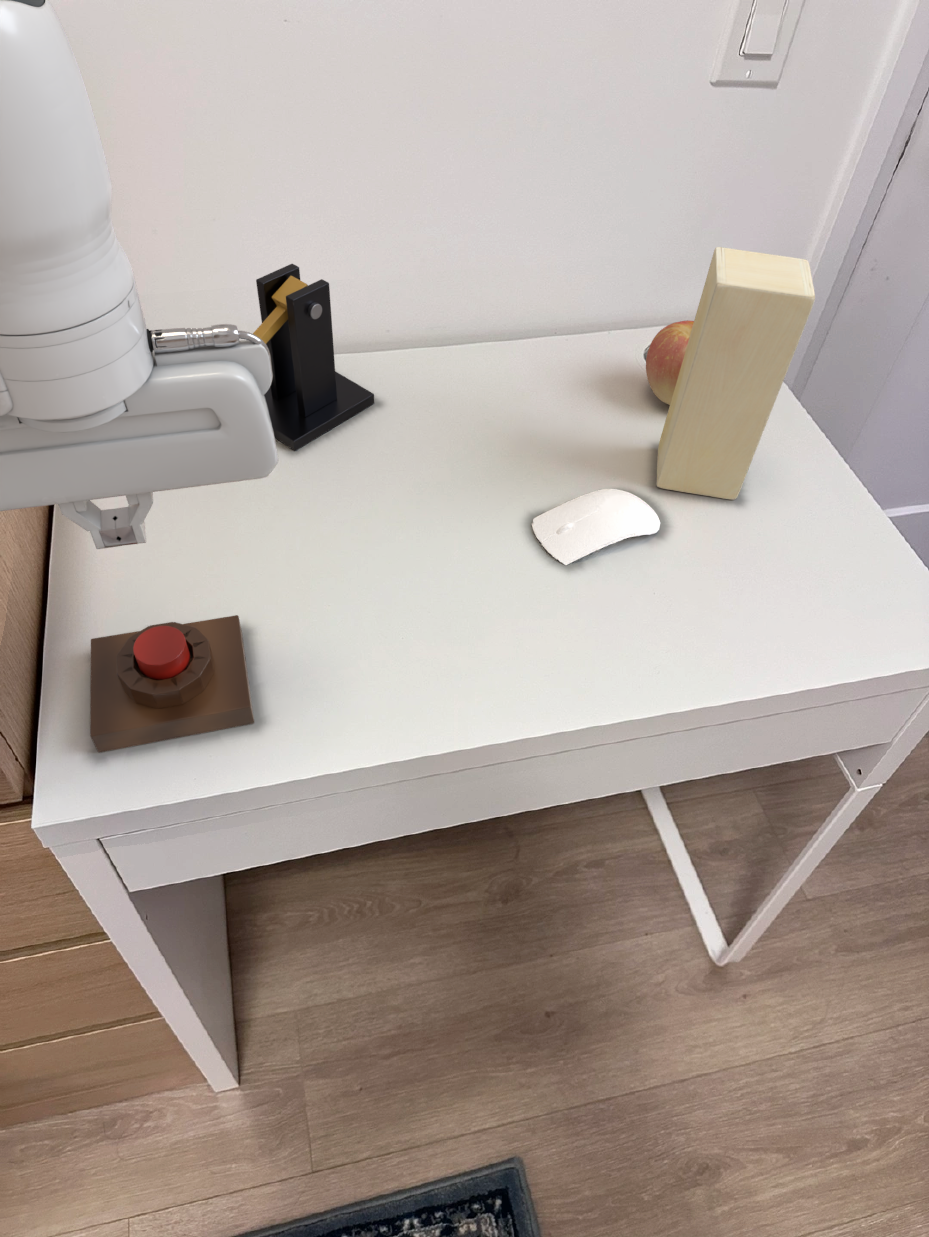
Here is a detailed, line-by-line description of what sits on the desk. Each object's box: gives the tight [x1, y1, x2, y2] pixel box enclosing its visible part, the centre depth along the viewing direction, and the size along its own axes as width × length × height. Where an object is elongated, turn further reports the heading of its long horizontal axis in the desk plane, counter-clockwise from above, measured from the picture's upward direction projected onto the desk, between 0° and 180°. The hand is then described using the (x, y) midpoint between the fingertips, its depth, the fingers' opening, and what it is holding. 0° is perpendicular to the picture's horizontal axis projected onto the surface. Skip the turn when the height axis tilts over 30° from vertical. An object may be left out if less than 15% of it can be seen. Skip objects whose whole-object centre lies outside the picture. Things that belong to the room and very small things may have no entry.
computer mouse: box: [531, 488, 661, 566], centre depth 79 cm, size 7×12×2 cm, turn 115°
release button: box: [133, 626, 190, 680], centre depth 63 cm, size 4×4×2 cm
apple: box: [645, 320, 694, 406], centre depth 92 cm, size 9×9×8 cm
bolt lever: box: [252, 276, 309, 344], centre depth 80 cm, size 16×5×2 cm, turn 140°
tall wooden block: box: [656, 246, 816, 500], centre depth 78 cm, size 8×7×21 cm
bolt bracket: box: [255, 263, 375, 452], centre depth 85 cm, size 11×9×14 cm
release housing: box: [89, 614, 255, 753], centre depth 65 cm, size 11×9×4 cm
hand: (122, 539), depth 54 cm, fingers closed
